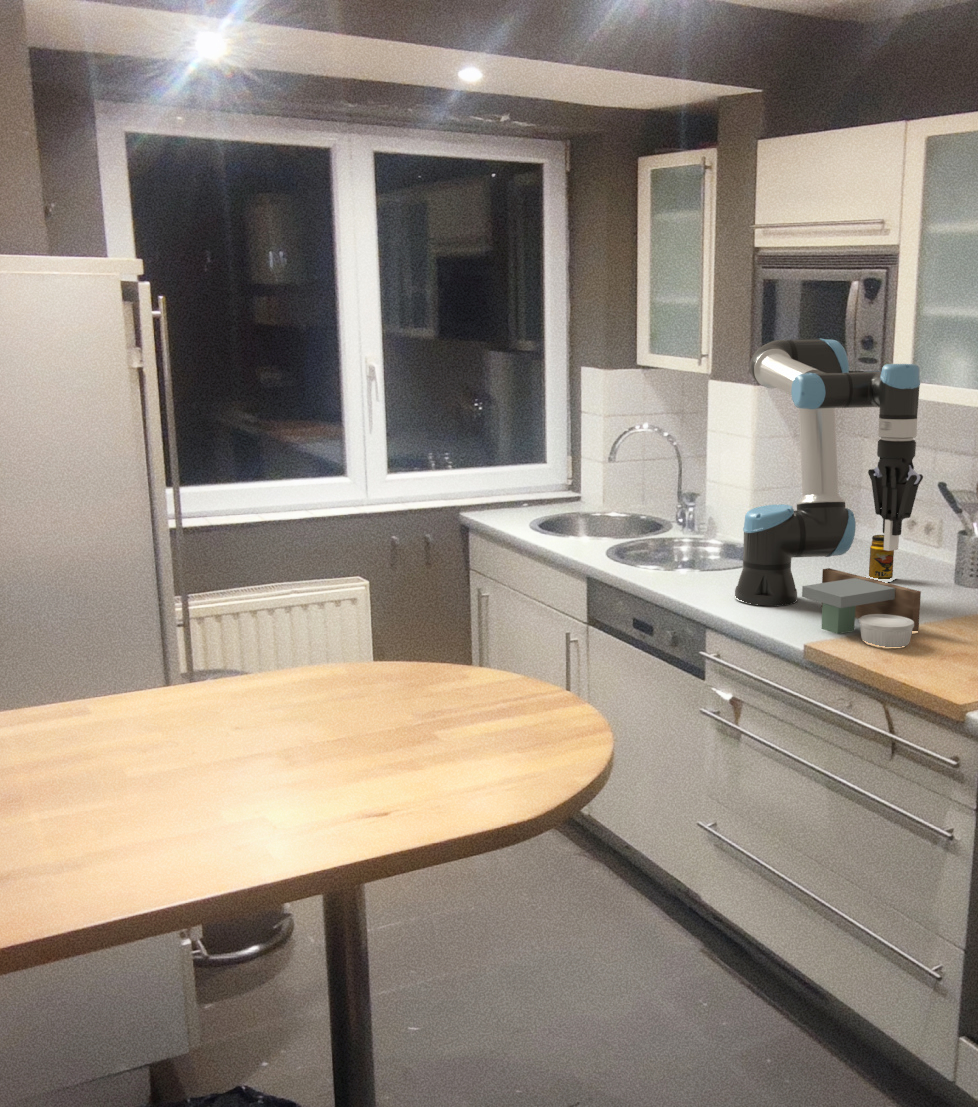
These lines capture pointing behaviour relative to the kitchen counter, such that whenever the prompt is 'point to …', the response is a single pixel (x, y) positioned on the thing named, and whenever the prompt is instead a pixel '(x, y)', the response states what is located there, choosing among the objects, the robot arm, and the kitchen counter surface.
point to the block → (838, 619)
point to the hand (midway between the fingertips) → (890, 549)
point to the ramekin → (886, 629)
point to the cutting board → (900, 606)
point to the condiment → (880, 559)
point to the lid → (848, 592)
